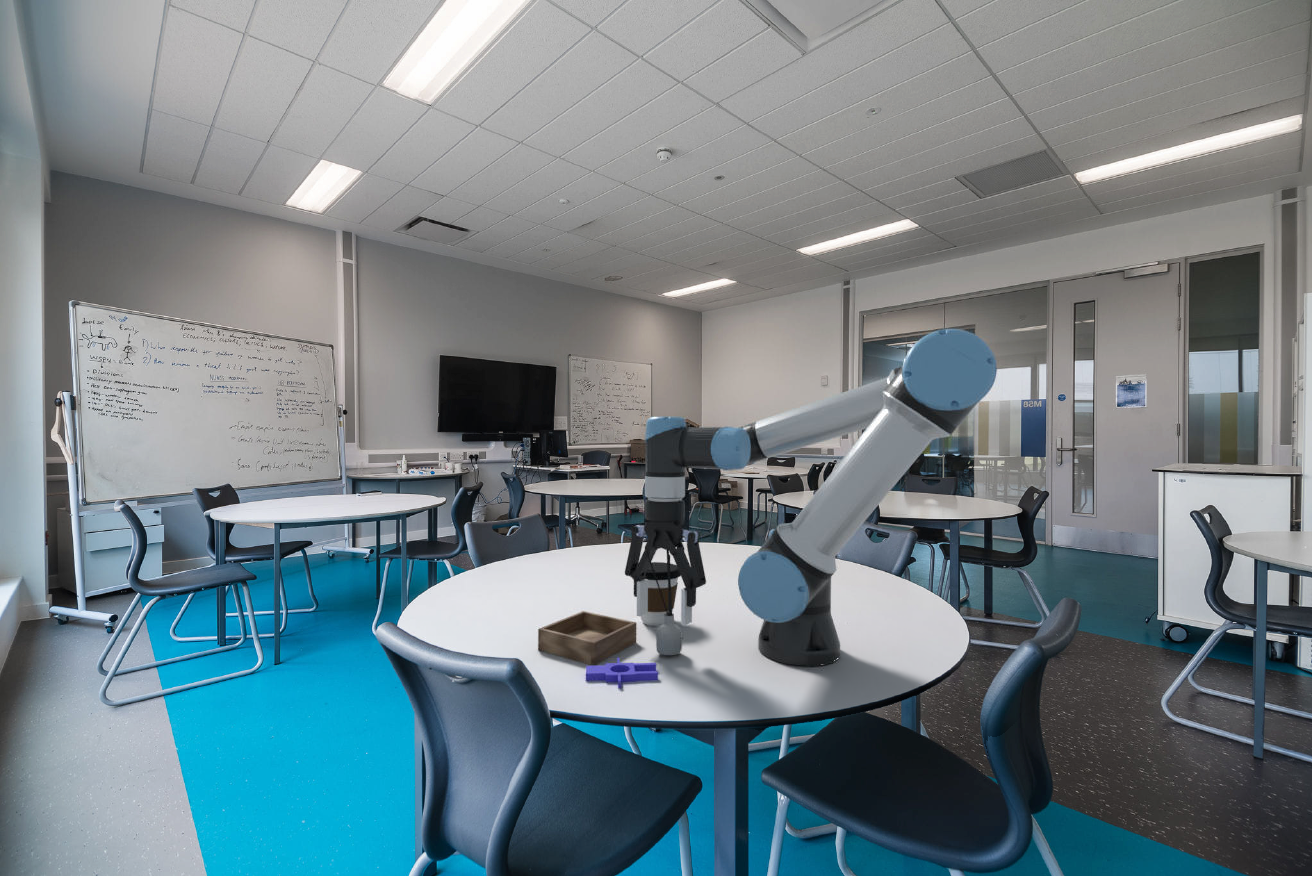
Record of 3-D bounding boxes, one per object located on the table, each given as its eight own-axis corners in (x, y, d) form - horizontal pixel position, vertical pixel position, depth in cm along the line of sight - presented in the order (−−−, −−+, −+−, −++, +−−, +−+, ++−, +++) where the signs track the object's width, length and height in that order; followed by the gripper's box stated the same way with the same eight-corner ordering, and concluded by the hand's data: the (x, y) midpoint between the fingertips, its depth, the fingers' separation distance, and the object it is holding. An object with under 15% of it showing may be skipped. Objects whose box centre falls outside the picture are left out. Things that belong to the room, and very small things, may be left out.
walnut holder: (636, 642, 113) (636, 622, 113) (594, 665, 102) (594, 642, 102) (583, 630, 120) (583, 611, 120) (538, 650, 109) (538, 629, 109)
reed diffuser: (683, 664, 103) (684, 552, 103) (645, 664, 102) (646, 552, 102) (680, 643, 113) (681, 542, 113) (645, 643, 113) (645, 541, 113)
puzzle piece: (659, 689, 93) (659, 679, 93) (585, 692, 92) (585, 681, 92) (654, 665, 103) (654, 656, 103) (586, 667, 102) (587, 658, 102)
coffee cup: (672, 632, 119) (673, 574, 119) (623, 626, 123) (624, 570, 123) (686, 616, 130) (687, 563, 130) (641, 611, 133) (641, 560, 133)
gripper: (726, 500, 105) (725, 623, 105) (628, 493, 116) (627, 604, 117) (707, 504, 99) (706, 635, 99) (606, 496, 110) (605, 614, 110)
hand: (663, 618), depth 108 cm, fingers open, 9 cm apart
